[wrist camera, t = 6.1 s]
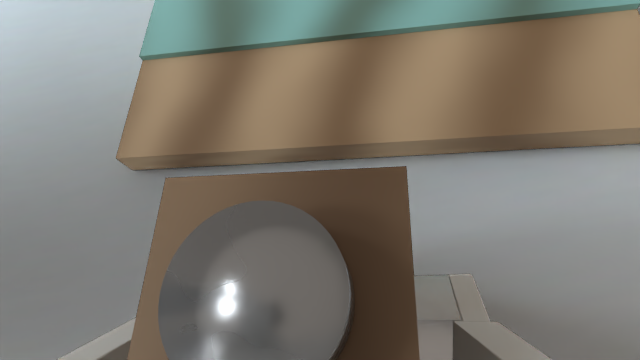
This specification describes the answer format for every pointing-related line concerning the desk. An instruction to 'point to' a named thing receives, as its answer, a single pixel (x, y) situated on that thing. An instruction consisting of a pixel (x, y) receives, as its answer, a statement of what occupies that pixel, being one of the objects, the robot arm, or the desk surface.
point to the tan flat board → (380, 79)
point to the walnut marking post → (280, 269)
